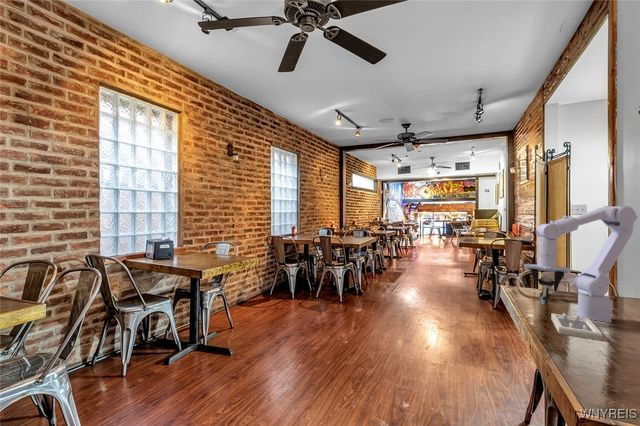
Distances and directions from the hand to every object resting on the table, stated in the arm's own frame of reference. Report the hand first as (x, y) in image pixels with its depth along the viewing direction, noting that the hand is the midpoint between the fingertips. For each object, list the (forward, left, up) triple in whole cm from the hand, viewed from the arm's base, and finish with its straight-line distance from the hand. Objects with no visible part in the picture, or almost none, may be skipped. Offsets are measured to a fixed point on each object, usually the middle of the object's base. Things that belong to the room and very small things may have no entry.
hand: (545, 289), depth 126 cm
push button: (0, 0, -6) cm, 6 cm away
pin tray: (-7, +13, -10) cm, 18 cm away
